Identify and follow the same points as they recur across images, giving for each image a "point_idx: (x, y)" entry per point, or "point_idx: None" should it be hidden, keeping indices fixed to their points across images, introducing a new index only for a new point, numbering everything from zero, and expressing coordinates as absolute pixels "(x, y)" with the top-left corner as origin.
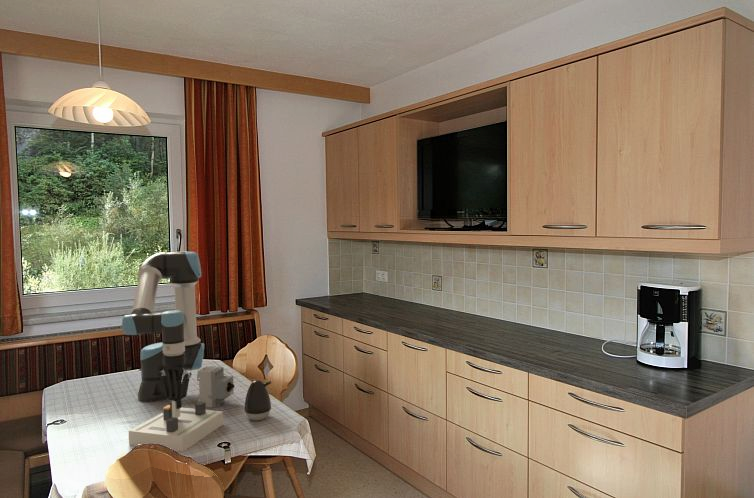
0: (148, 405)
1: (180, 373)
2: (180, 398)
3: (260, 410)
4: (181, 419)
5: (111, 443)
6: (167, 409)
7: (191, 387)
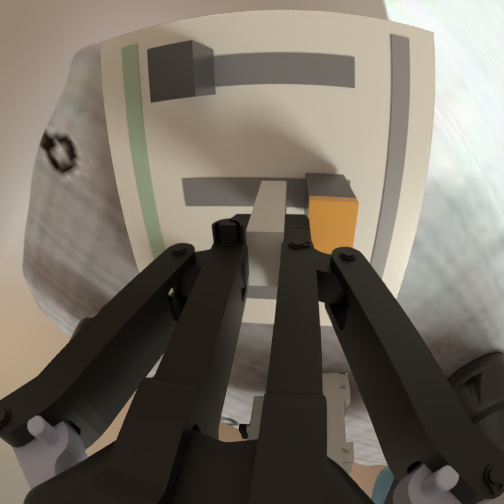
0: (481, 342)
1: (56, 481)
2: (180, 245)
3: (76, 327)
4: None
5: (474, 56)
6: (319, 195)
7: None
